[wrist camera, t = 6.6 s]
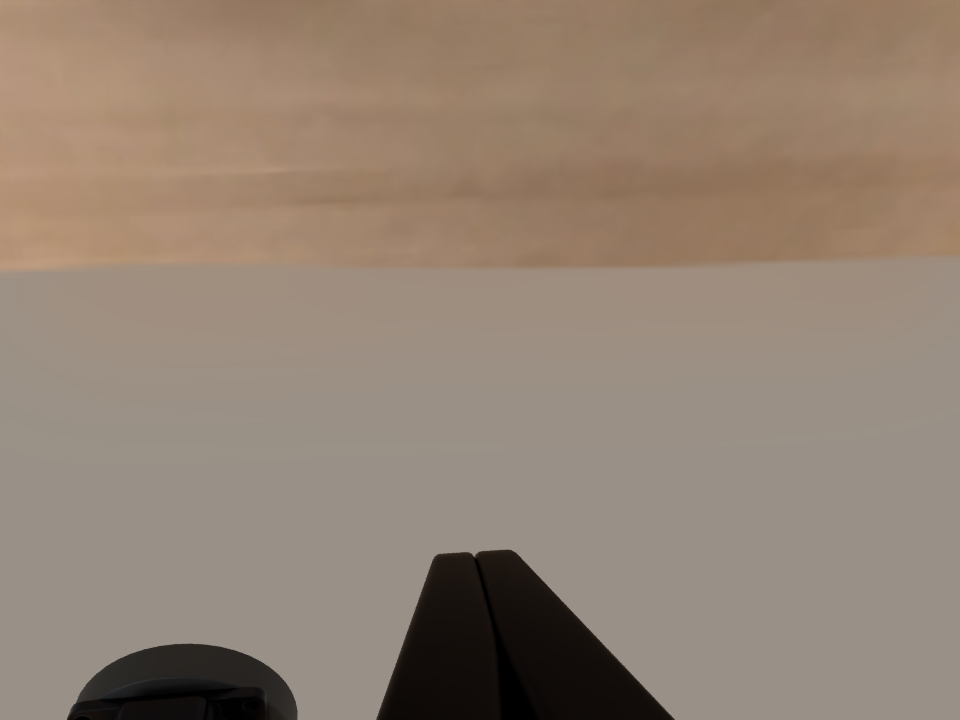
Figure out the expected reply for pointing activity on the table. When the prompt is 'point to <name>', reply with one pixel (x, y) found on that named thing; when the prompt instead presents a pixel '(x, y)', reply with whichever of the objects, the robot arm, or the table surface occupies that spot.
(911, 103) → the table surface
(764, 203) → the table surface
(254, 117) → the table surface
